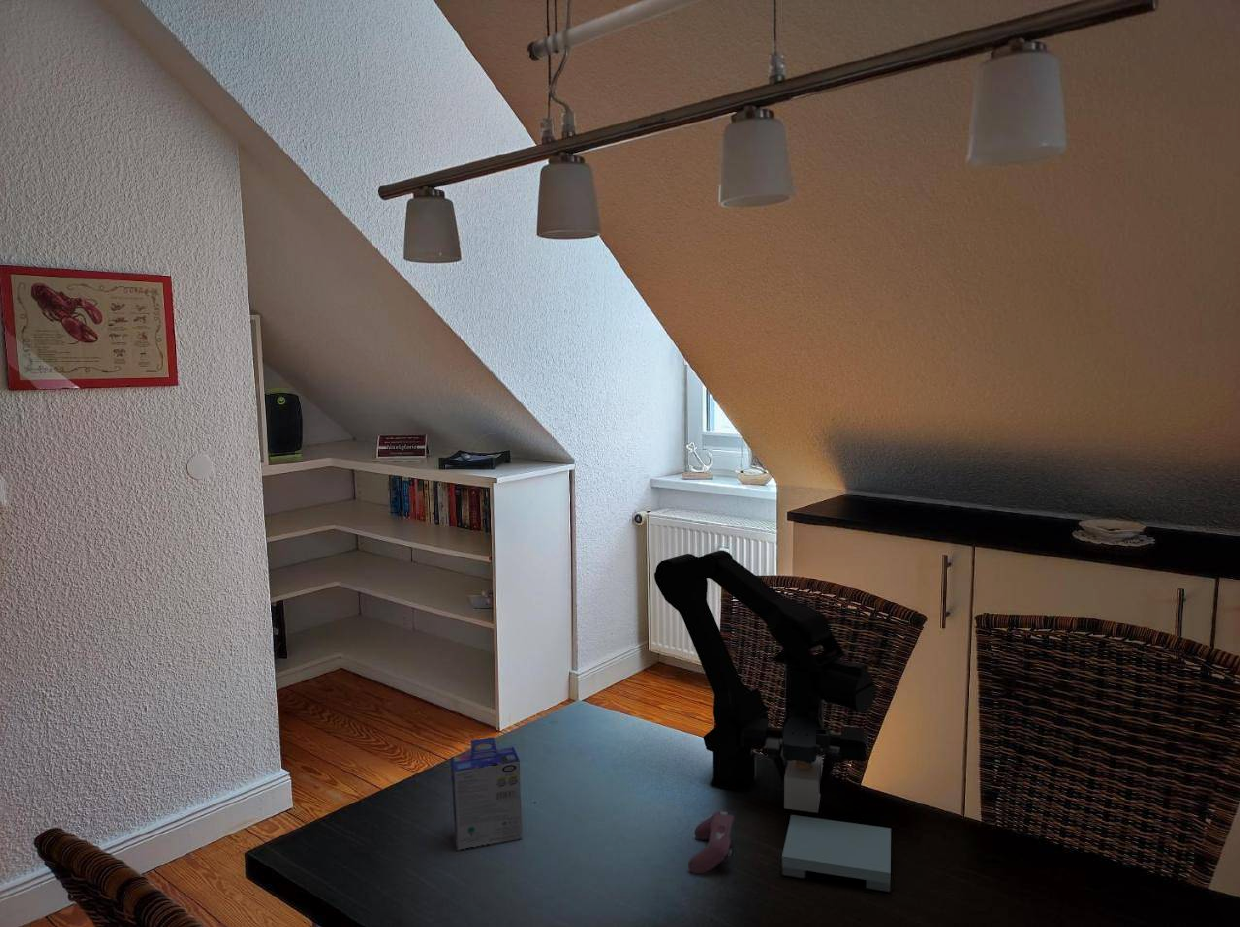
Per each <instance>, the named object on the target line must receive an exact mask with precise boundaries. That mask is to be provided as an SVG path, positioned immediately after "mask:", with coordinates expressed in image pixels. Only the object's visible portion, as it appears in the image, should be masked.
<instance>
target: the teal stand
mask: <svg viewBox="0 0 1240 927" xmlns="http://www.w3.org/2000/svg"><path fill="white" fill-rule="evenodd" d="M891 859H892V828H889V827H883V826H875V825H869V824H862V823H861V824H860V823H853V822H846V821H840V820H839V821H838V820H832V819H826V818H818V817H811V816H803V815H798V814H791V815H790V818H789V824H788V827H787V832H786V836H785V841H784V845H783V849H782V854H781V869H782V870H781V871H782V872H781V874H782V876H788V877H795V878H800V879H805V878H806V873H807V872H813V873H820V874H826V875H833V876H839V877H840V876H841V877H846V878H852V879H856V880H857V879H859V880H863V881H866V884H865V886H866V887H865V888H866V889H867V890H869V889H870V890H875V891H880V892H881V891H882V892H888V893H891V877H892V876H891V875H892V874H891V872H892V871H891V870H892V869H891V866H892V864H891V862H892V860H891Z"/></svg>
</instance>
